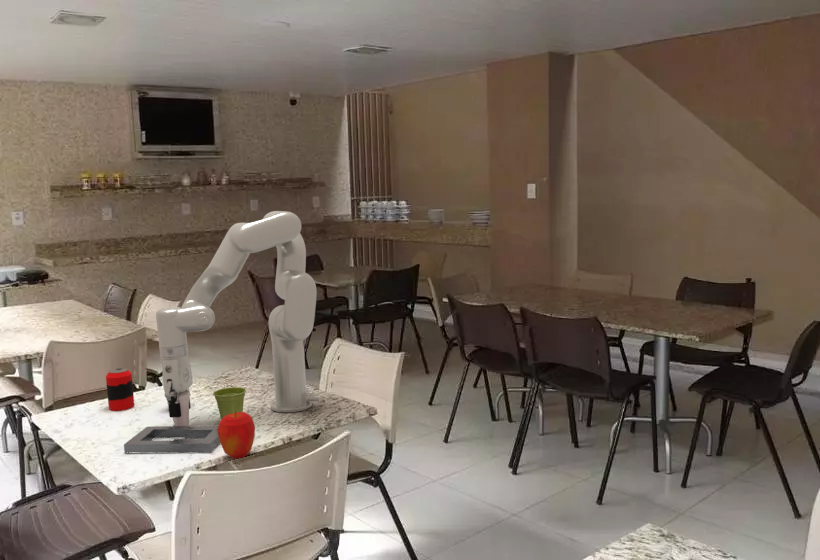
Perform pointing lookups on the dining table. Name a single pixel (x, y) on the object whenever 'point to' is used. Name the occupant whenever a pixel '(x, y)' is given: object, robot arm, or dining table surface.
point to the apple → (236, 434)
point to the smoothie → (183, 410)
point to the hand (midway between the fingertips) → (180, 412)
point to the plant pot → (230, 400)
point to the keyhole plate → (194, 440)
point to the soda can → (120, 389)
